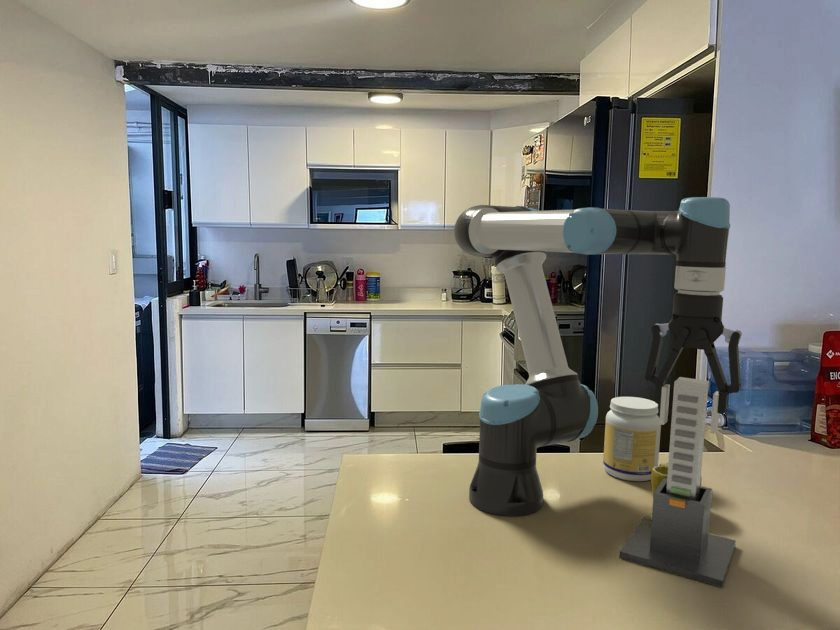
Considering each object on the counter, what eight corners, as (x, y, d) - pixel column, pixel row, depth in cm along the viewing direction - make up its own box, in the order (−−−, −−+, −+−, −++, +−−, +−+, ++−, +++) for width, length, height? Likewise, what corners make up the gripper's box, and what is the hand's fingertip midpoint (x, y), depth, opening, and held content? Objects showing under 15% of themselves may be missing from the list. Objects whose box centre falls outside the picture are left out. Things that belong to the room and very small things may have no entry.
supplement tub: (612, 459, 154) (616, 392, 152) (663, 471, 147) (668, 401, 145) (594, 474, 145) (598, 403, 142) (648, 487, 138) (653, 412, 135)
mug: (716, 515, 120) (700, 463, 121) (661, 525, 122) (646, 474, 124) (704, 501, 132) (690, 454, 133) (654, 511, 134) (641, 464, 135)
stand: (619, 557, 107) (623, 495, 106) (642, 522, 120) (646, 466, 119) (722, 588, 98) (728, 520, 97) (735, 546, 112) (740, 486, 110)
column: (664, 508, 107) (673, 382, 104) (670, 498, 111) (679, 377, 109) (693, 515, 105) (703, 386, 102) (698, 504, 109) (708, 380, 106)
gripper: (630, 289, 106) (621, 421, 109) (766, 298, 95) (752, 444, 98) (641, 287, 112) (633, 411, 115) (770, 295, 101) (757, 432, 104)
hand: (688, 426), depth 106 cm, fingers open, 7 cm apart
